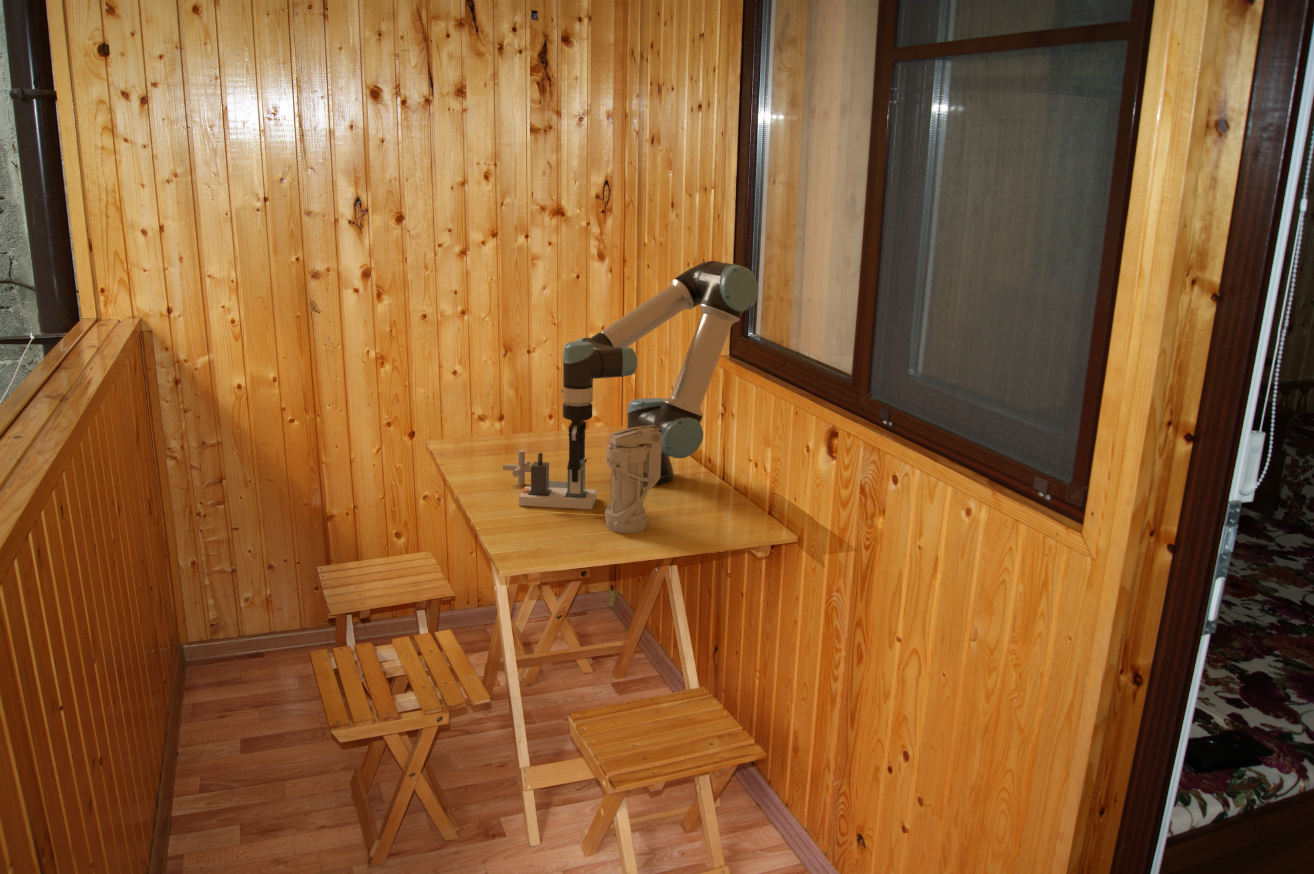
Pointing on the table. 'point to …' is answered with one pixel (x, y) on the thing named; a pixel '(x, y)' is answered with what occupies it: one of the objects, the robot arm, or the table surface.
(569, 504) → the power strip
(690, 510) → the table surface
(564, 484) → the pad
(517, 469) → the pipe connector
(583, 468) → the plug
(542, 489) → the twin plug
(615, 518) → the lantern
